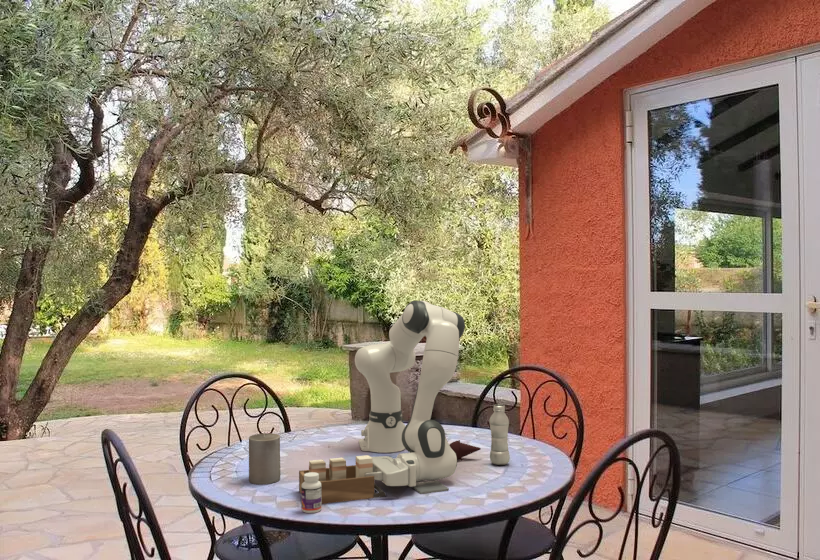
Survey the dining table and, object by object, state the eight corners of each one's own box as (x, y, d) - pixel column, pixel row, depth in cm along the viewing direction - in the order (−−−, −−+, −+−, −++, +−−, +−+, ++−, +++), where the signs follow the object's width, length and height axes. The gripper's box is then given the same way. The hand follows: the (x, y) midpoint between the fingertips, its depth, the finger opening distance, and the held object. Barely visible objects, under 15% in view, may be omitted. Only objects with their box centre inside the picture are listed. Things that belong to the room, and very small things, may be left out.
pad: (409, 485, 205) (409, 483, 205) (437, 482, 208) (437, 480, 208) (420, 494, 197) (420, 491, 197) (448, 490, 200) (448, 488, 200)
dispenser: (299, 491, 200) (298, 457, 200) (371, 483, 208) (371, 450, 208) (308, 505, 187) (308, 469, 187) (385, 496, 195) (385, 461, 195)
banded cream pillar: (355, 490, 201) (355, 456, 201) (368, 488, 202) (368, 455, 202) (359, 494, 197) (359, 459, 197) (372, 492, 199) (372, 458, 199)
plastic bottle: (509, 467, 225) (508, 407, 225) (488, 466, 226) (488, 406, 226) (510, 462, 231) (509, 403, 231) (490, 461, 232) (490, 403, 232)
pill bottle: (302, 507, 186) (302, 471, 186) (322, 506, 186) (321, 471, 186) (300, 513, 180) (300, 477, 180) (321, 513, 181) (320, 476, 181)
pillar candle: (253, 475, 217) (252, 429, 217) (283, 475, 216) (283, 428, 216) (245, 485, 207) (244, 436, 207) (276, 485, 207) (276, 436, 207)
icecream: (479, 438, 239) (437, 441, 240) (479, 437, 232) (436, 441, 233) (481, 458, 237) (439, 462, 238) (481, 458, 230) (437, 462, 231)
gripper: (394, 449, 214) (352, 453, 209) (417, 466, 195) (371, 470, 190) (394, 469, 214) (352, 474, 209) (417, 488, 195) (371, 493, 190)
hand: (361, 472), depth 200 cm, fingers open, 6 cm apart
